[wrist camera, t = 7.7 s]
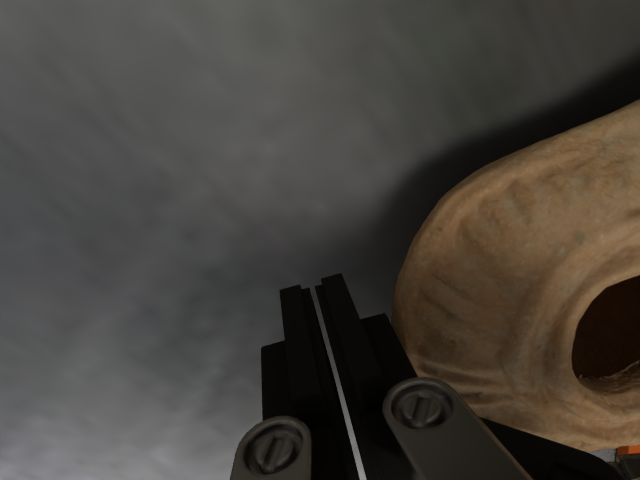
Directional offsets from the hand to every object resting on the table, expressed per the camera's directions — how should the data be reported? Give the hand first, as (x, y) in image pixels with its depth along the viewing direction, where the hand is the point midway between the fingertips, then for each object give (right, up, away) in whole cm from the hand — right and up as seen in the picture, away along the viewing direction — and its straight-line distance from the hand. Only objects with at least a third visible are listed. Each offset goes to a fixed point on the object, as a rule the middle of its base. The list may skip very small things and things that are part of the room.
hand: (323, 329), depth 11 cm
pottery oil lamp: (+7, +3, +2) cm, 8 cm away
